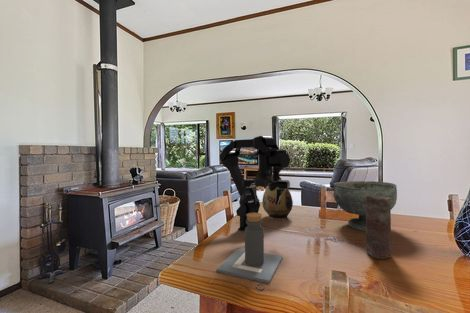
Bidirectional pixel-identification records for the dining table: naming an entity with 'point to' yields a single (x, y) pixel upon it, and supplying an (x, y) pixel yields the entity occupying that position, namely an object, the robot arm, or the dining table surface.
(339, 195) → the decorative bowl
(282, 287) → the dining table surface
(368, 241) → the candle
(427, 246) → the dining table surface
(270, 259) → the pad
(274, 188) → the ceramic jug
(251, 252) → the bottle
